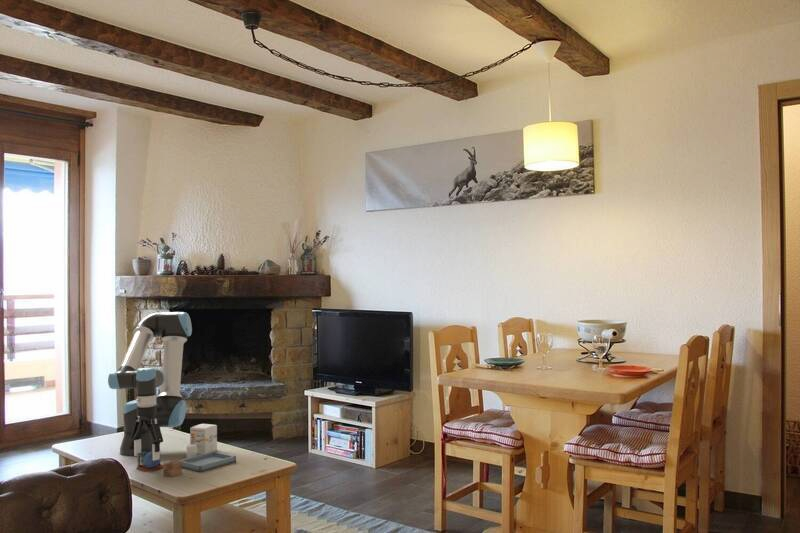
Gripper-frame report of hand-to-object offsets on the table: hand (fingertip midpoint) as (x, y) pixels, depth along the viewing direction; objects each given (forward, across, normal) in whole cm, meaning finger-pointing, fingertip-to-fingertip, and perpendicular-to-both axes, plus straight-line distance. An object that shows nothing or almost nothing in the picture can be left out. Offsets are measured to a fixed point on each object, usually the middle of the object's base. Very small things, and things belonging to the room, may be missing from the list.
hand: (146, 457), depth 270 cm
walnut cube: (+5, +18, 0) cm, 18 cm away
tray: (+4, +17, +17) cm, 24 cm away
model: (+5, 0, +1) cm, 5 cm away
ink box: (+4, -2, +29) cm, 30 cm away
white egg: (+4, +5, +18) cm, 19 cm away
